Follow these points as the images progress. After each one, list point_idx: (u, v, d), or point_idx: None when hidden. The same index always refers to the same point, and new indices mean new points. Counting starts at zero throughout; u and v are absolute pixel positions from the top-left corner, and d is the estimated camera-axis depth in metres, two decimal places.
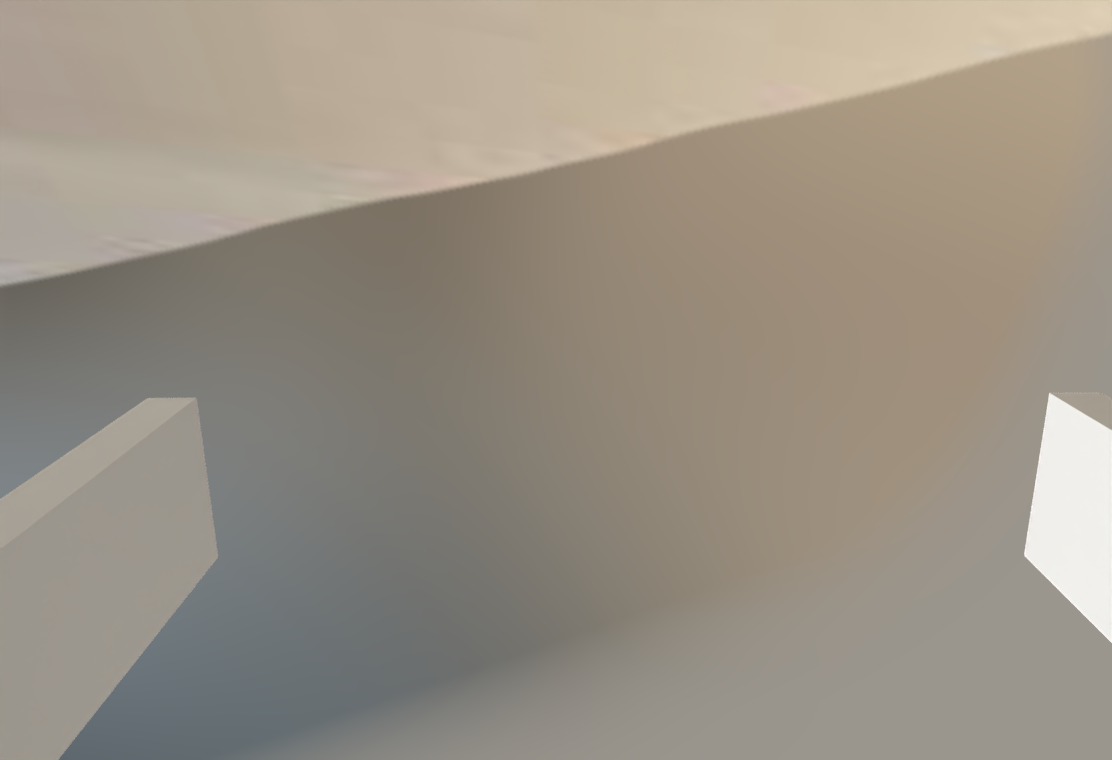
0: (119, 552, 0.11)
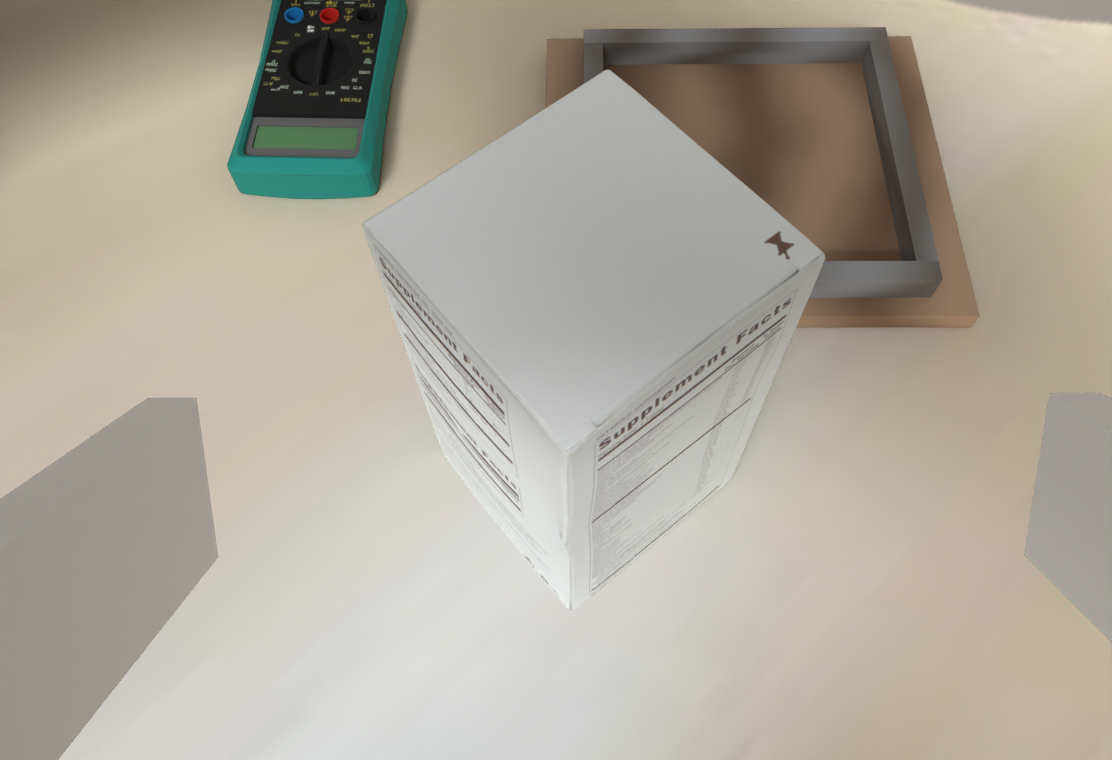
0: (119, 552, 0.11)
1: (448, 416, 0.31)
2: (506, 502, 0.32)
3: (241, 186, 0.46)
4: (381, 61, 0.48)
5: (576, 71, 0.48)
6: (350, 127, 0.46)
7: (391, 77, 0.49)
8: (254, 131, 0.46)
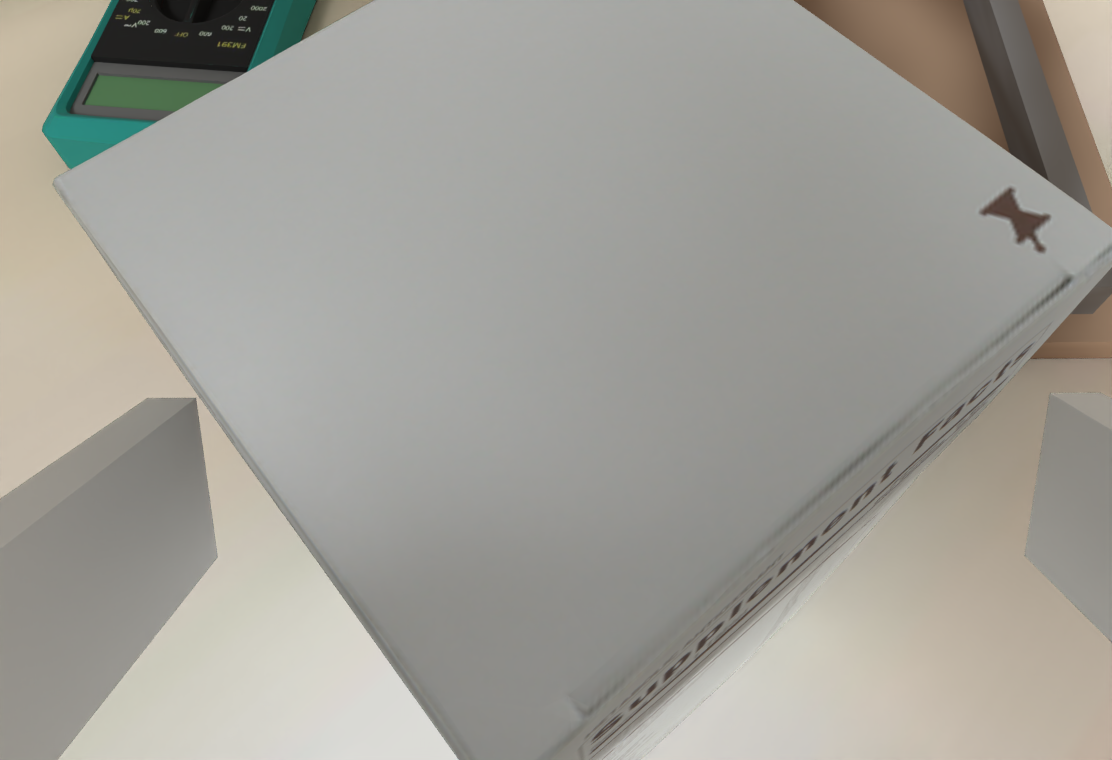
0: (118, 552, 0.11)
1: None
2: None
3: (65, 159, 0.32)
4: None
5: None
6: None
7: (304, 21, 0.35)
8: (91, 81, 0.32)
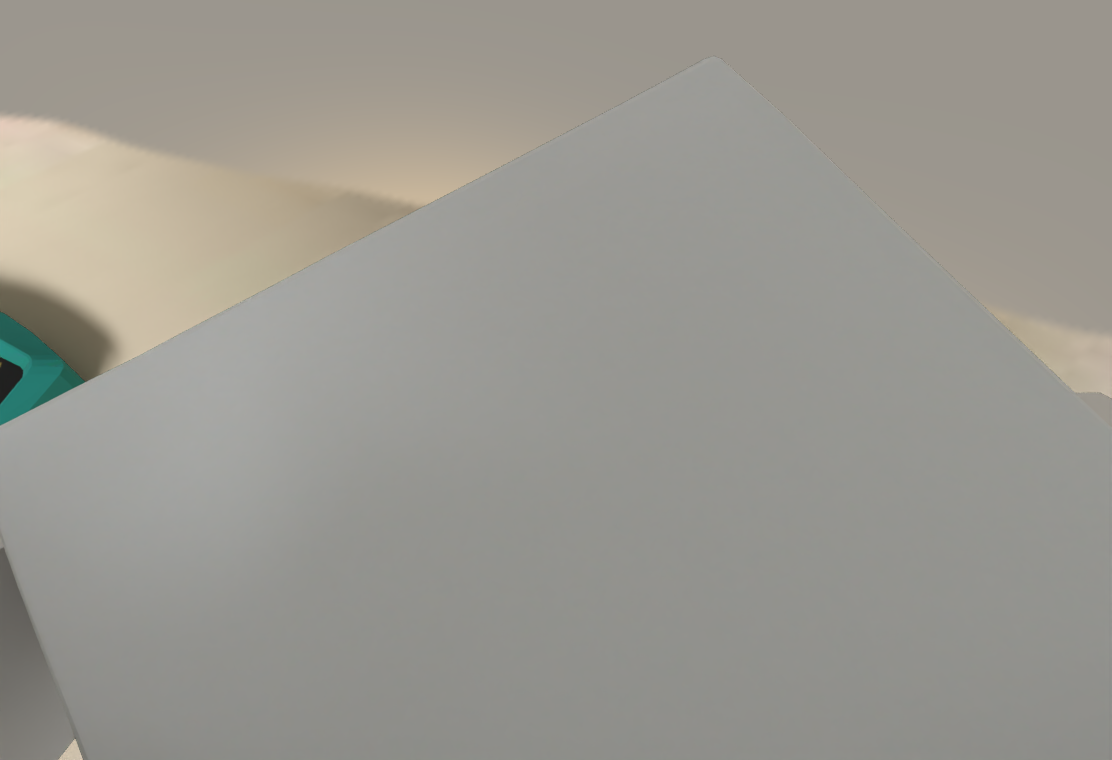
0: None
1: None
2: None
3: None
4: None
5: None
6: None
7: None
8: None
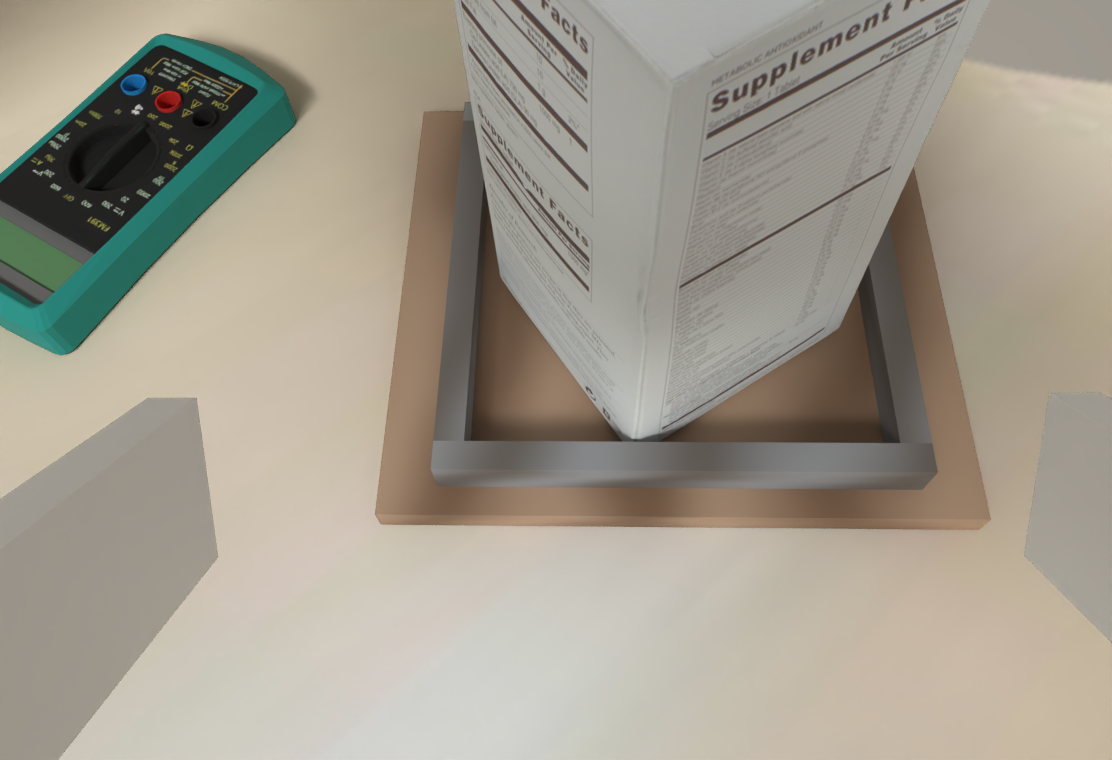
0: (119, 552, 0.11)
1: (512, 172, 0.26)
2: (572, 288, 0.26)
3: None
4: (173, 187, 0.35)
5: (457, 155, 0.37)
6: (75, 259, 0.34)
7: (201, 206, 0.37)
8: None
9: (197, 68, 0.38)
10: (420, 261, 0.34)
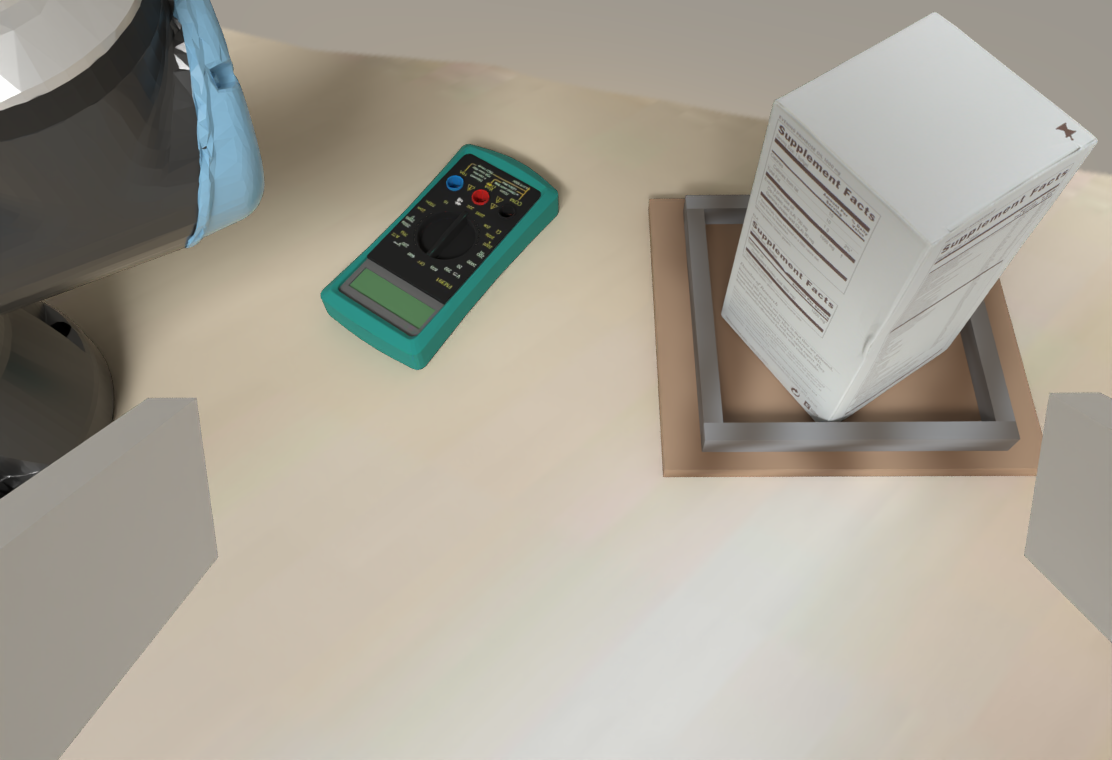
0: (119, 552, 0.11)
1: (773, 261, 0.43)
2: (806, 329, 0.43)
3: (327, 309, 0.52)
4: (491, 260, 0.52)
5: (678, 230, 0.54)
6: (429, 306, 0.51)
7: (501, 271, 0.54)
8: (360, 271, 0.52)
9: (496, 173, 0.55)
10: (665, 305, 0.52)
